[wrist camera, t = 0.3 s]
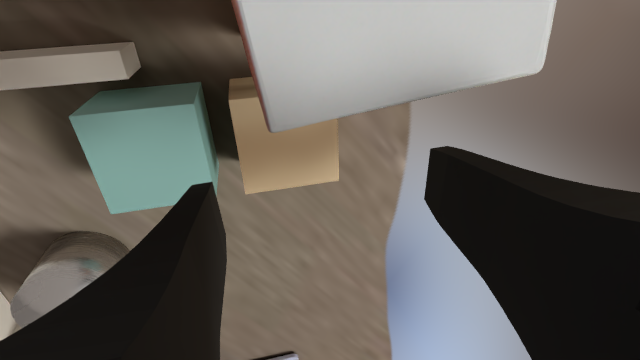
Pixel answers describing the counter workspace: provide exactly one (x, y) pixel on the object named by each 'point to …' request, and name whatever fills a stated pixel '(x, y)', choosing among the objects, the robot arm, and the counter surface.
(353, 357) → the counter surface
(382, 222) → the counter surface
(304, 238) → the counter surface
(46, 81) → the frame
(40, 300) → the aluminium part
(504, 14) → the small box
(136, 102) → the teal block
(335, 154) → the oak block
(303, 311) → the counter surface
